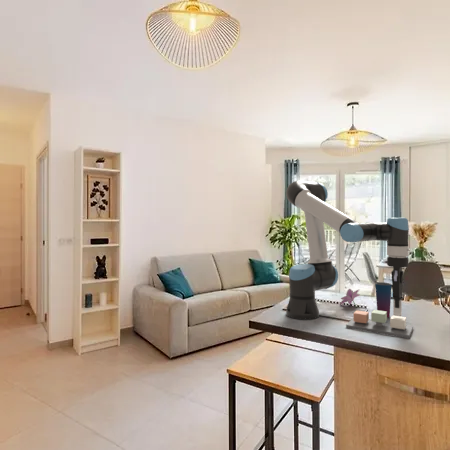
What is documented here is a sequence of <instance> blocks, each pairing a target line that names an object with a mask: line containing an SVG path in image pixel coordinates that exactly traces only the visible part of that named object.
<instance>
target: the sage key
mask: <svg viewBox="0 0 450 450" xmlns="http://www.w3.org/2000/svg"><path fill="white" fill-rule="evenodd" d="M370 317H371V318H370V319H371V321H374V322H380V323H385V322H388V321H387V320H388V318H387V311H379V310H377V309H373V310H372V311H371V315H370Z"/></svg>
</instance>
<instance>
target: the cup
mask: <svg viewBox="0 0 450 450" xmlns="http://www.w3.org/2000/svg"><path fill="white" fill-rule="evenodd" d="M374 286H375V296H376V297H375V298H376V299H375V300H376V310H379V311H387V319H388V318H391V303H392V302H391V300H392V299H391V298H392V283H390V282H383V281H379V282H375V284H374Z"/></svg>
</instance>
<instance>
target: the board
mask: <svg viewBox="0 0 450 450" xmlns="http://www.w3.org/2000/svg"><path fill="white" fill-rule="evenodd" d="M345 328H346V329H353V330H357V331H363V332H367V333H368V332H370V333H375V334H380V335H386V336H392V337H396V338H404V339H410V338H411V336H412V333H413V330H414V326H413V325H411V324H410V325H409V324H406V328H405V330H404V329H398V328H392V327H390V321H386V322H385V323H380V322H374V321H371V318H369V321H368V322H367V323H360V322H354V317H352V318H351V320H349V321H348V322H347V324H345Z"/></svg>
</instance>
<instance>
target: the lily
mask: <svg viewBox="0 0 450 450" xmlns="http://www.w3.org/2000/svg"><path fill="white" fill-rule="evenodd" d="M360 290H361V289H356V290H354V292H353V290H352V289H351V288H348V289H347V291H346V293H345V296H342V297H341V298H340V299H341V301H340V303H339V306H342V305H344V303H348V304H349V305H352V303H353V304H354V306H355V308H356V309H358V308H357V305H356V303H355V301H354V300H355V299H356V298H357V297H360V296H361V294H359V291H360ZM341 304H342V305H341Z"/></svg>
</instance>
